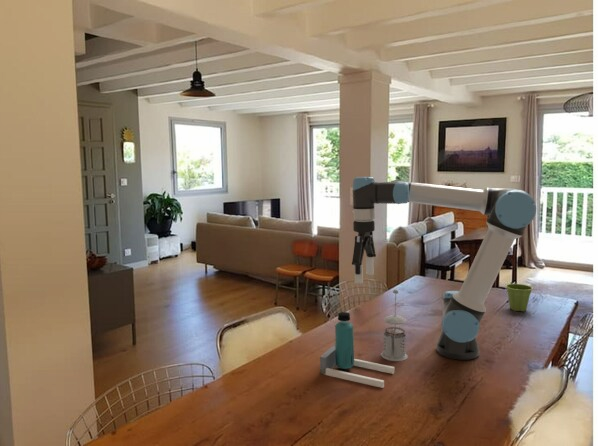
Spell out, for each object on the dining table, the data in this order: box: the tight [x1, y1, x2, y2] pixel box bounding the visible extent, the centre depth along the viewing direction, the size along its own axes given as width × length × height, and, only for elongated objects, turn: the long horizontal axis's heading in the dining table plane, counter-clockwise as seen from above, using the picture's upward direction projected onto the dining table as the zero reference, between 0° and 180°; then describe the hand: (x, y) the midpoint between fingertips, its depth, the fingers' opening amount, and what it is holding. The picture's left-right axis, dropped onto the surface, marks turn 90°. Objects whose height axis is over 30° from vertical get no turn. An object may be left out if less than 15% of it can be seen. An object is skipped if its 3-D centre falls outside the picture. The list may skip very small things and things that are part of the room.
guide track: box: [319, 344, 395, 389], centre depth 158 cm, size 22×12×6 cm, turn 62°
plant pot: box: [505, 283, 534, 312], centre depth 225 cm, size 12×12×11 cm
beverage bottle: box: [334, 311, 355, 370], centre depth 161 cm, size 6×7×20 cm
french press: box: [380, 289, 408, 362], centre depth 170 cm, size 10×12×25 cm
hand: (364, 278), depth 169 cm, fingers open, 13 cm apart
